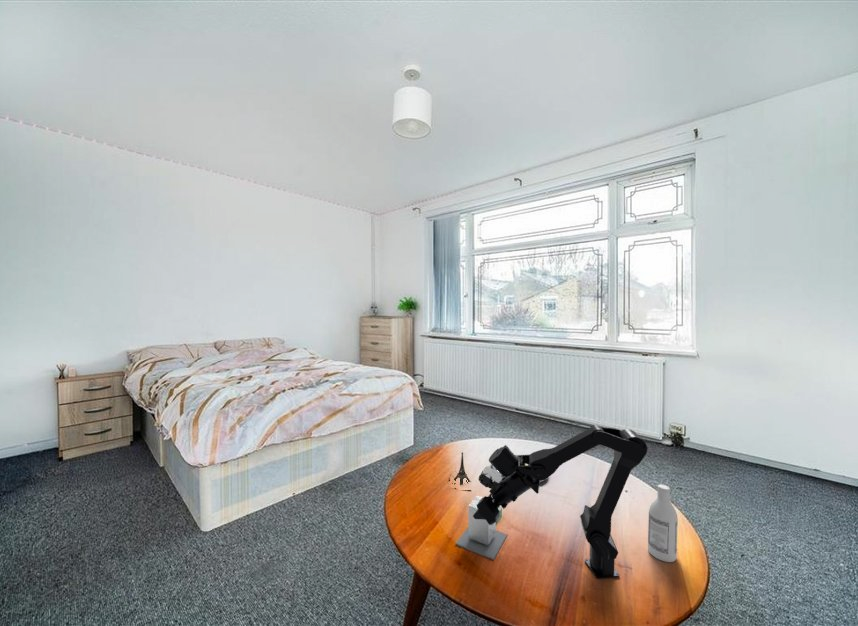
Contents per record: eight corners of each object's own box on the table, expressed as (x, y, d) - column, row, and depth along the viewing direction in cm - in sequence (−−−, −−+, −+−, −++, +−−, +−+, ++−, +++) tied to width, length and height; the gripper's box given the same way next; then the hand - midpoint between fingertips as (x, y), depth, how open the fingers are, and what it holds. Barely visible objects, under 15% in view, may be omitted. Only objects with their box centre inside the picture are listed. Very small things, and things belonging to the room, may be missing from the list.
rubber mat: (507, 535, 108) (507, 534, 108) (493, 560, 98) (493, 558, 98) (471, 523, 114) (471, 521, 114) (455, 544, 104) (455, 543, 104)
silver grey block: (495, 533, 107) (496, 501, 107) (488, 545, 102) (488, 512, 102) (476, 526, 111) (476, 495, 110) (468, 538, 105) (468, 505, 105)
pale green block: (501, 516, 119) (501, 508, 118) (497, 522, 115) (497, 514, 115) (490, 512, 121) (490, 504, 121) (486, 518, 117) (486, 510, 117)
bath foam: (663, 545, 105) (665, 480, 104) (682, 562, 98) (684, 492, 97) (642, 546, 104) (644, 481, 104) (659, 564, 97) (661, 493, 97)
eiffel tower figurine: (450, 472, 150) (451, 441, 150) (474, 474, 149) (474, 443, 148) (446, 490, 136) (446, 456, 135) (472, 492, 134) (472, 458, 134)
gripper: (505, 450, 112) (473, 475, 118) (483, 474, 96) (448, 502, 101) (529, 481, 108) (495, 505, 114) (511, 511, 92) (472, 538, 98)
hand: (478, 511), depth 107 cm, fingers closed on silver grey block, 6 cm apart
